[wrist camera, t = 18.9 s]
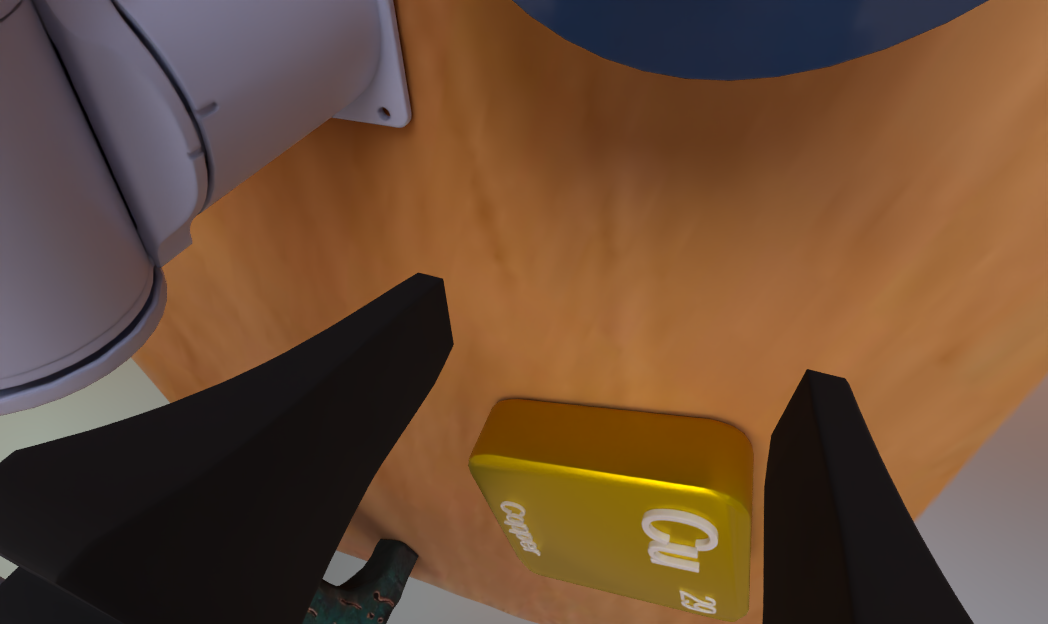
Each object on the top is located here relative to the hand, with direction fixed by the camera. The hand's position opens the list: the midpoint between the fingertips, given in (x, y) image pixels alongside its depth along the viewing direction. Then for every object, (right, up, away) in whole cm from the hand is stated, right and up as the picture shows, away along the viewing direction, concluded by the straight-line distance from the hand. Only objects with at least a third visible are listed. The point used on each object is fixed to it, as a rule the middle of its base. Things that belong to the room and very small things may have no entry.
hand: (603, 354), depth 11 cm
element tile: (+5, -10, +23) cm, 25 cm away
